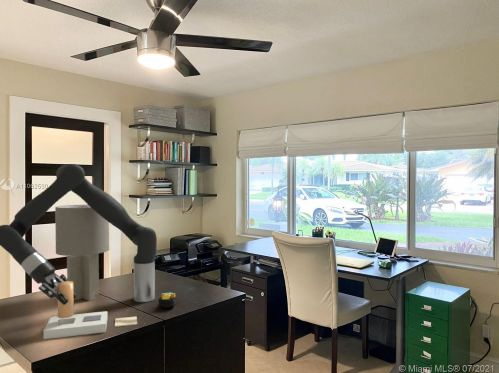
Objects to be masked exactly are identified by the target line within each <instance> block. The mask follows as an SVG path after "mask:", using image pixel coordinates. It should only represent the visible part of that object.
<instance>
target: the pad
mask: <svg viewBox="0 0 499 373" xmlns="http://www.w3.org/2000/svg"><path fill="white" fill-rule="evenodd" d="M137 325H138V318H137V316H129V317H118V318H115V320H114V327H115V328H118V327H127V326H129V327H130V326H137Z"/></svg>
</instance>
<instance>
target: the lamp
mask: <svg viewBox="0 0 499 373" xmlns="http://www.w3.org/2000/svg"><path fill="white" fill-rule="evenodd" d="M54 208H55V214H54V216H55V219H54V220H55V226H54V227H55V254H56V255H58V256H64V257H66V278H67V279H68V281H72V282H73V292H74V293H75V294H76V295H77V296H76V297H75V298H74V299H73V300H74V302H75V301H78V300H82V299H83V300H85V301H89V302H91V301H94V300H95V296H98V295H100V283H99V282H100V278H99V277H100V275H99V274H100V272H99V269H100V265H99V259H100V258H99V254H103V253H107V252H108V251H110V223H109V222H108V221H107V220H105V219H104V218H103V217H101V216H100V215H99V214H98V213H97V212H96V211H94V210H93V209H92V208H91V207H90V206H89V205H88V204H69V205H59V206H55V207H54Z"/></svg>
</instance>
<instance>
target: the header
mask: <svg viewBox="0 0 499 373" xmlns="http://www.w3.org/2000/svg"><path fill="white" fill-rule="evenodd" d="M107 324H108V311H105V310H104V311H96V312H88V313H87V312H85V313H77V314H75V313H74V315H73V316H72V317H69V318H58V315H57V316H51V317H50V318H49V320H48V322H47V324H46V326H45V327H44V328H43V340H49V339H59V338H66V337H74V336H83V335H84V336H85V335H94V334H101V333H106V332H107Z"/></svg>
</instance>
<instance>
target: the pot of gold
mask: <svg viewBox="0 0 499 373" xmlns="http://www.w3.org/2000/svg"><path fill="white" fill-rule="evenodd" d="M177 299H178V294H176V293H175V292H174V293H173V292H164V293H163V292H162V293H161V295H160V297H159V298H158V300H157V302H158V306H159V307H162V308H163V309H165V308H166V309H167V308H169V309H170V308H172V307H173V306H175V305H176V303H177Z"/></svg>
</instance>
